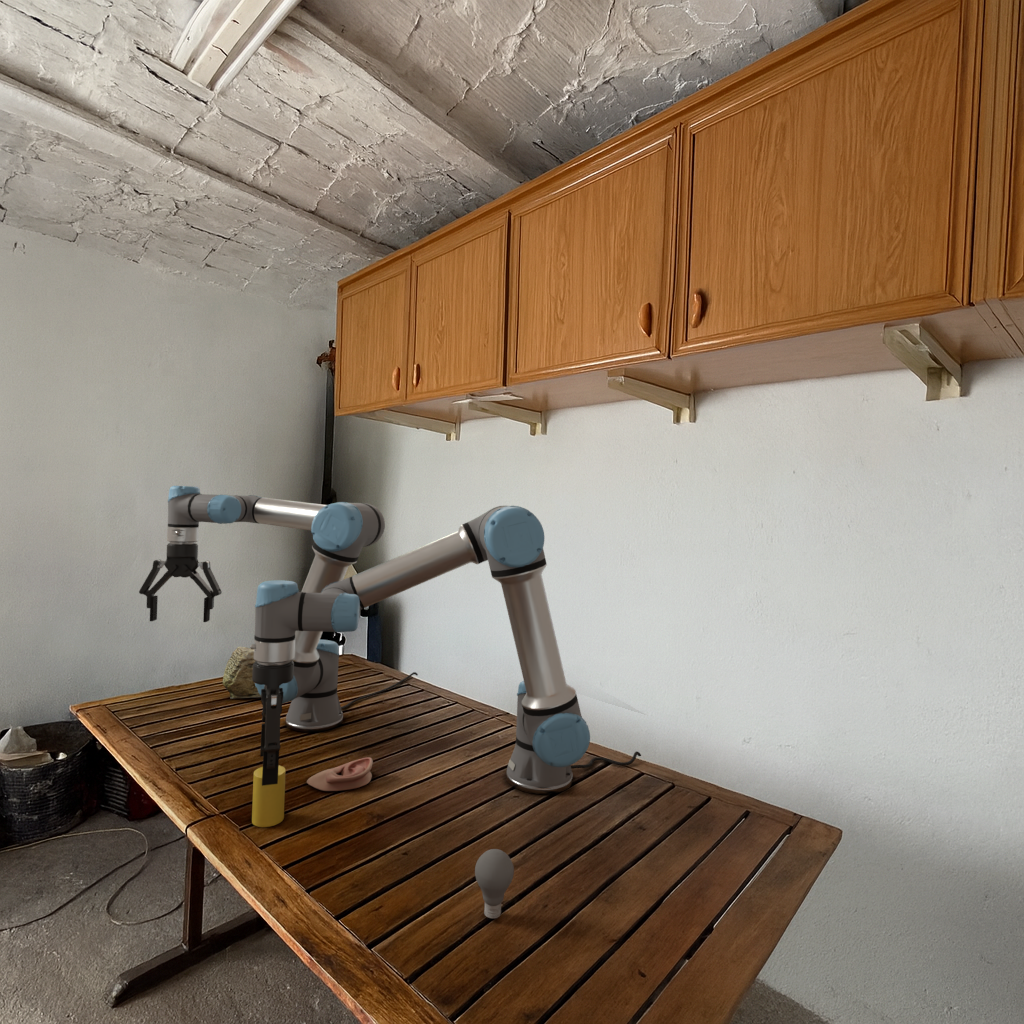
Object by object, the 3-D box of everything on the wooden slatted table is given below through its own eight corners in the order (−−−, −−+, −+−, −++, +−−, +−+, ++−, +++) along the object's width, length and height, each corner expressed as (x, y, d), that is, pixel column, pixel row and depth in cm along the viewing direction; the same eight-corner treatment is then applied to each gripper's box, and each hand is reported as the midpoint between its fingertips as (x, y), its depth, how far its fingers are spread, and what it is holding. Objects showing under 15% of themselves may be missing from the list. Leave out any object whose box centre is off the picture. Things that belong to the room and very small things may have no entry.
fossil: (218, 695, 195) (220, 647, 195) (278, 685, 208) (279, 640, 207) (228, 703, 189) (230, 653, 188) (289, 692, 201) (290, 645, 201)
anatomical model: (300, 769, 137) (326, 749, 148) (299, 787, 137) (325, 766, 148) (357, 777, 134) (379, 756, 146) (356, 796, 134) (378, 773, 146)
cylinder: (289, 820, 124) (291, 771, 124) (260, 830, 119) (262, 780, 119) (274, 809, 128) (276, 762, 128) (246, 819, 123) (248, 770, 123)
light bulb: (472, 903, 100) (475, 841, 100) (510, 903, 101) (513, 841, 101) (473, 929, 94) (476, 863, 94) (513, 928, 95) (516, 862, 95)
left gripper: (126, 542, 166) (124, 622, 166) (226, 545, 170) (224, 624, 170) (139, 540, 173) (136, 617, 174) (235, 543, 177) (232, 618, 177)
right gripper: (252, 646, 133) (247, 746, 133) (253, 679, 110) (247, 800, 111) (289, 645, 136) (285, 743, 136) (299, 677, 113) (293, 795, 113)
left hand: (180, 620), depth 172 cm, fingers open, 13 cm apart
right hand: (268, 769), depth 123 cm, fingers open, 13 cm apart
